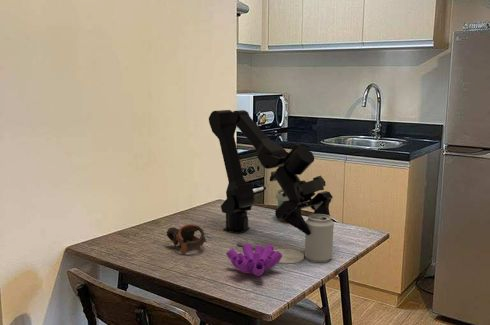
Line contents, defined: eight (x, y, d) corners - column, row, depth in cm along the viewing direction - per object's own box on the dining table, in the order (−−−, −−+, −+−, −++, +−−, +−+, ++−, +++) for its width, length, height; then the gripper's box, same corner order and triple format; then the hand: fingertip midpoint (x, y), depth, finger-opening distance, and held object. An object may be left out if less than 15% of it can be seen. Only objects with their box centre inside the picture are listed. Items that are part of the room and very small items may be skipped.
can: (331, 264, 131) (333, 221, 129) (303, 262, 132) (304, 219, 130) (332, 254, 138) (334, 213, 136) (305, 252, 140) (306, 211, 138)
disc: (260, 258, 135) (260, 257, 135) (279, 248, 143) (279, 246, 143) (293, 266, 130) (293, 264, 130) (310, 255, 138) (310, 253, 138)
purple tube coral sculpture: (230, 291, 122) (213, 256, 125) (268, 273, 134) (251, 241, 136) (259, 275, 115) (240, 238, 118) (296, 257, 127) (278, 224, 129)
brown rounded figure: (208, 245, 147) (211, 226, 142) (197, 268, 140) (199, 250, 135) (171, 232, 149) (172, 213, 144) (158, 255, 142) (159, 236, 136)
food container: (276, 214, 178) (277, 187, 176) (293, 214, 177) (294, 187, 175) (273, 224, 166) (274, 195, 164) (292, 225, 165) (292, 196, 163)
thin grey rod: (236, 245, 145) (236, 242, 145) (238, 244, 146) (238, 241, 146) (269, 253, 139) (269, 250, 139) (271, 252, 140) (271, 249, 139)
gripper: (283, 171, 128) (315, 221, 122) (328, 163, 141) (359, 208, 134) (262, 196, 135) (291, 244, 129) (306, 185, 148) (335, 229, 142)
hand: (320, 230), depth 133 cm, fingers open, 9 cm apart
